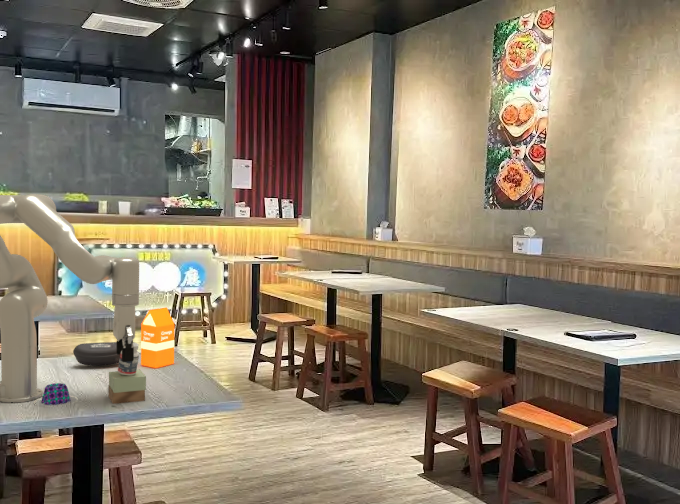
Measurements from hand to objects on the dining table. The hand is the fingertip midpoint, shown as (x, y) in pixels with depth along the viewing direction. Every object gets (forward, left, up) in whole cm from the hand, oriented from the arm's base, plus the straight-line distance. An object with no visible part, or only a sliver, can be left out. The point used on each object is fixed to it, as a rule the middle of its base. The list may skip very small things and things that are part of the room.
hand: (124, 357), depth 210 cm
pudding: (-18, +4, -13) cm, 23 cm away
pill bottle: (+1, 0, -5) cm, 5 cm away
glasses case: (0, +47, -13) cm, 49 cm away
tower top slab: (+1, 0, -9) cm, 9 cm away
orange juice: (+18, +41, -13) cm, 47 cm away
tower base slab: (0, -1, -13) cm, 13 cm away
